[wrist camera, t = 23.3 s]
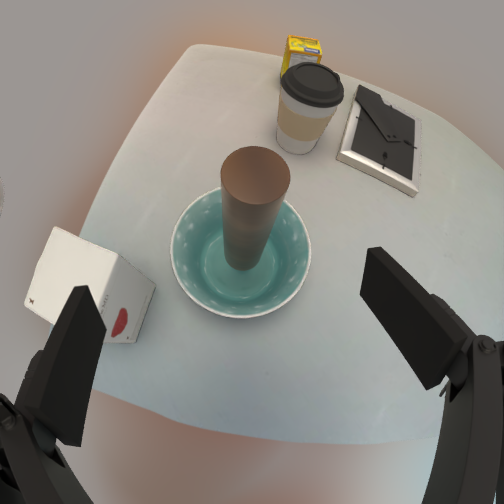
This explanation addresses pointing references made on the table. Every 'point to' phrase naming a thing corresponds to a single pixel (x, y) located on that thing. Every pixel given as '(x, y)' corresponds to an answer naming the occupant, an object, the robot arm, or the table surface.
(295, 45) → the supplement box
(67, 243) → the white product box
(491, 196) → the table surface
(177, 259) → the bowl
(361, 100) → the picture frame
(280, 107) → the coffee cup
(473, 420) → the robot arm
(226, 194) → the tall brown cylinder
